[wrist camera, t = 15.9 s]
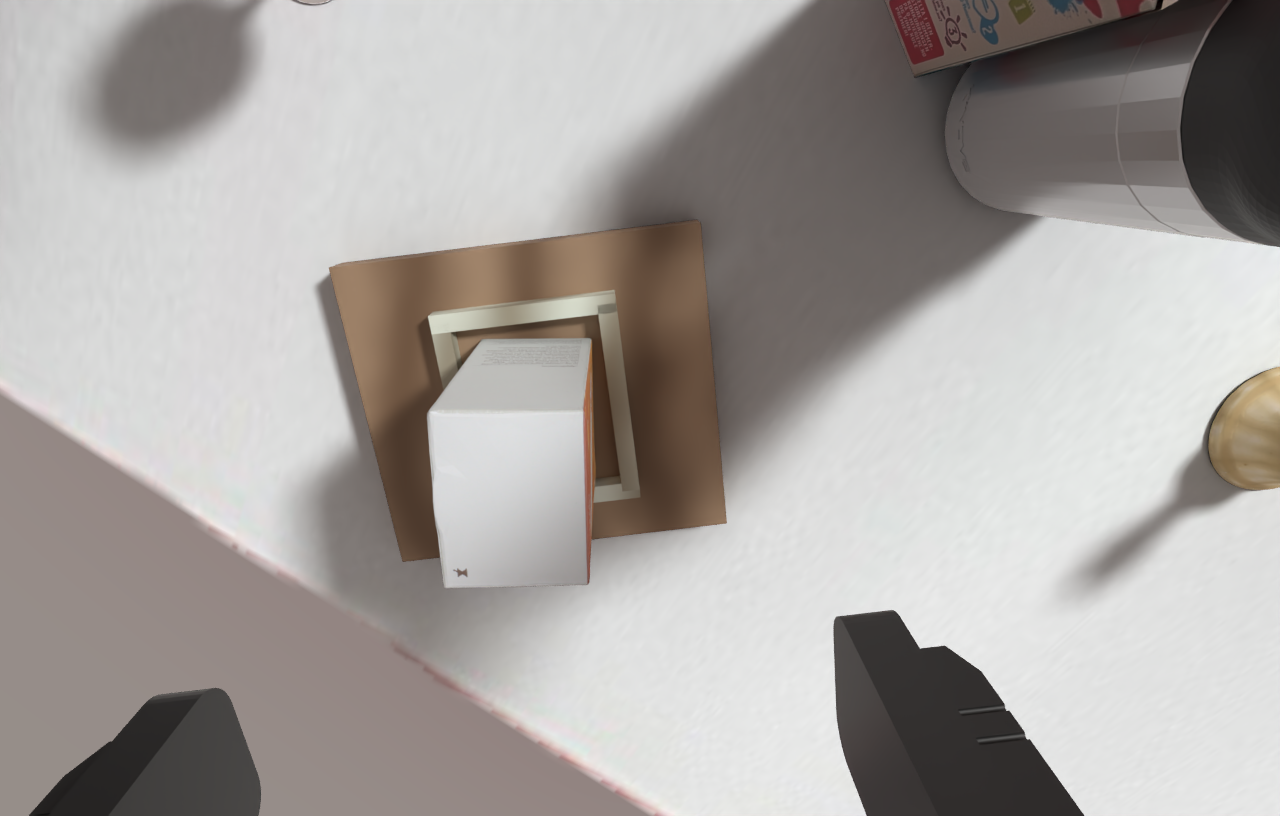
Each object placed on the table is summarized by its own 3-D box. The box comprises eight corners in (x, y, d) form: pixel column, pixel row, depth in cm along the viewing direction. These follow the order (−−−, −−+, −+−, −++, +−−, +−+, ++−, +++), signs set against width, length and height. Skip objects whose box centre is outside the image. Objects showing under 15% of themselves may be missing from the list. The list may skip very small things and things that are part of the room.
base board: (696, 219, 41) (703, 224, 38) (722, 508, 47) (729, 532, 44) (342, 263, 41) (320, 270, 38) (411, 545, 47) (397, 572, 44)
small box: (597, 468, 43) (590, 590, 31) (489, 469, 43) (439, 593, 31) (594, 333, 41) (585, 409, 28) (479, 335, 41) (420, 411, 28)
